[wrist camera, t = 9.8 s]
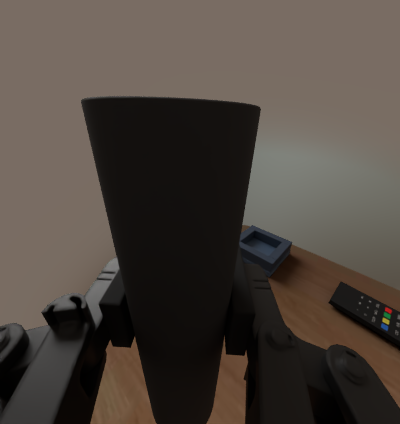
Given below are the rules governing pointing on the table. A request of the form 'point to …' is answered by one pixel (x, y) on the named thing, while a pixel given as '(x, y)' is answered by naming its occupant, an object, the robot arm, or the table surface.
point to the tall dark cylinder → (175, 232)
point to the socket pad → (263, 249)
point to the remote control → (368, 311)
